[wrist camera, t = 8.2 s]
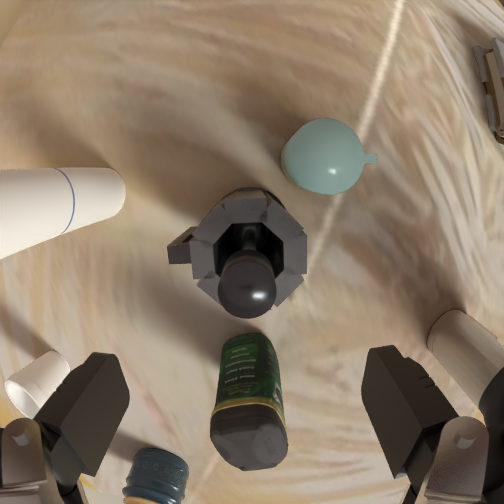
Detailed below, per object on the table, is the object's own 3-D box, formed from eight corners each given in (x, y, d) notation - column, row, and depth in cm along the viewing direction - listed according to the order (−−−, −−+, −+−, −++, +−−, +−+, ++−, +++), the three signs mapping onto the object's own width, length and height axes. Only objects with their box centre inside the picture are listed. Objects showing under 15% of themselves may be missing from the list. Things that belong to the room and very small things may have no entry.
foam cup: (49, 378, 45) (19, 415, 32) (34, 341, 42) (-3, 375, 30) (83, 385, 45) (53, 428, 32) (67, 346, 42) (30, 387, 30)
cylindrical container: (134, 202, 36) (-9, 246, 12) (96, 227, 37) (-40, 288, 13) (112, 157, 34) (-37, 153, 10) (76, 185, 35) (-66, 209, 11)
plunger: (266, 213, 32) (283, 254, 15) (268, 248, 33) (284, 322, 16) (231, 215, 32) (206, 258, 15) (233, 250, 33) (214, 325, 16)
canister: (138, 467, 52) (120, 521, 34) (133, 440, 48) (109, 501, 31) (189, 480, 52) (179, 536, 35) (191, 455, 49) (178, 521, 32)
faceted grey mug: (287, 185, 36) (310, 190, 21) (289, 260, 38) (310, 311, 23) (193, 191, 36) (154, 200, 21) (199, 265, 38) (169, 316, 24)
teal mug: (353, 133, 34) (381, 122, 25) (355, 190, 36) (384, 194, 27) (278, 132, 34) (287, 117, 25) (281, 191, 36) (291, 195, 27)
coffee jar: (215, 338, 41) (195, 433, 23) (268, 325, 40) (277, 422, 22) (235, 385, 43) (228, 479, 25) (283, 375, 43) (296, 470, 25)
